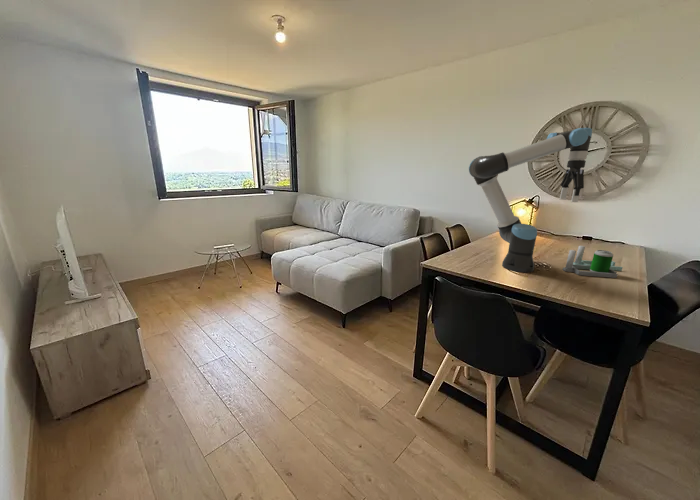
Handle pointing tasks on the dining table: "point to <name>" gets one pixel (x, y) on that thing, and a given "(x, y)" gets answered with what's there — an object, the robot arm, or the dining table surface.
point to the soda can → (601, 261)
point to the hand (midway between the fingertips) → (568, 200)
